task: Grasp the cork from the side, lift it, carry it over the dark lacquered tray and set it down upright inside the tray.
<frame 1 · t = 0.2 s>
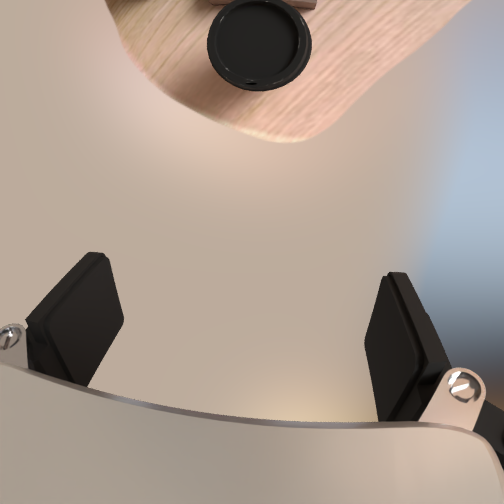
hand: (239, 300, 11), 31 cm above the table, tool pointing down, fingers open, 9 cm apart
coffee cup: (268, 57, 33), on the table
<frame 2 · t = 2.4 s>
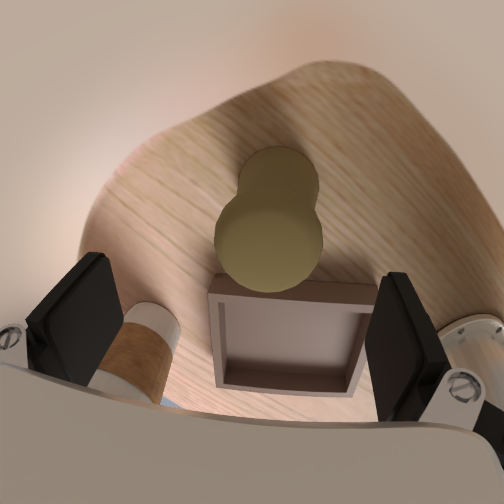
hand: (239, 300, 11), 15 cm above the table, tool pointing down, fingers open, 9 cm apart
coffee cup: (154, 323, 32), on the table
cork: (278, 185, 24), on the table
lacquer tray: (291, 332, 30), on the table
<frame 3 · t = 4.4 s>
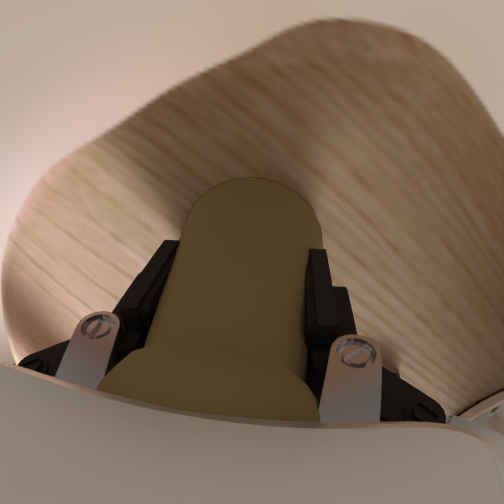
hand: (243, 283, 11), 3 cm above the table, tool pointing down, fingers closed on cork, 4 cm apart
cork: (252, 243, 14), on the table, touching gripper
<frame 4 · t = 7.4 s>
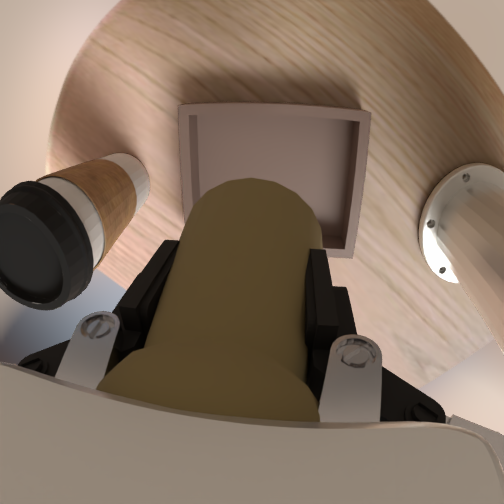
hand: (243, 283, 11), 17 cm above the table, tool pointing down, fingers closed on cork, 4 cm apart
coffee cup: (123, 182, 28), on the table
cork: (252, 244, 14), point 14 cm above the table, touching gripper
lacquer tray: (273, 173, 26), on the table
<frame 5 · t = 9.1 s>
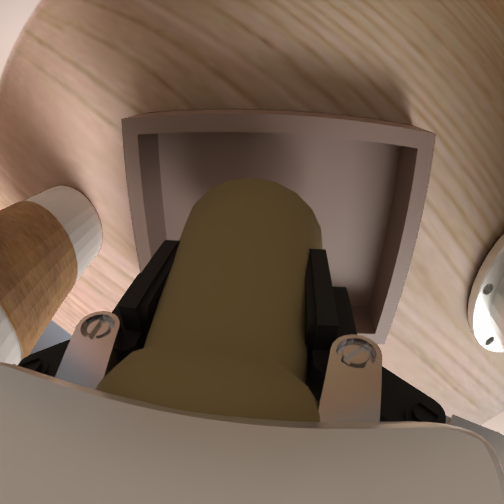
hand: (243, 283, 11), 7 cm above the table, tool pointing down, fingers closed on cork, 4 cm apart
coffee cup: (70, 224, 20), on the table
cork: (252, 244, 14), point 4 cm above the table, touching gripper
lacquer tray: (275, 220, 18), on the table
when the fingers open (5 cm above the table, at t = 10.4 s): cork drops 1 cm, resting on lacquer tray.
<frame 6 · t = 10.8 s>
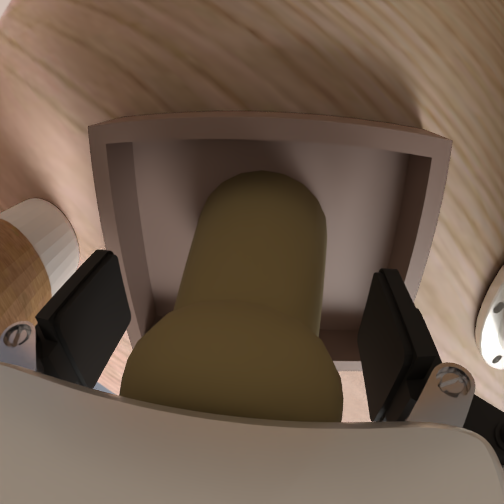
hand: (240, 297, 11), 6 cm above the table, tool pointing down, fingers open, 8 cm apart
coffee cup: (46, 239, 18), on the table
cork: (262, 231, 15), resting on lacquer tray
lacquer tray: (266, 237, 16), on the table
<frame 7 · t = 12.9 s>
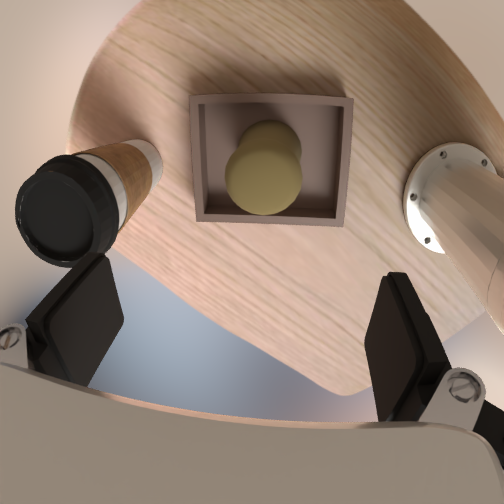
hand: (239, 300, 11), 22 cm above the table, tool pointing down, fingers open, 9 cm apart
coffee cup: (138, 165, 32), on the table
cork: (269, 150, 29), resting on lacquer tray
lacquer tray: (271, 154, 30), on the table
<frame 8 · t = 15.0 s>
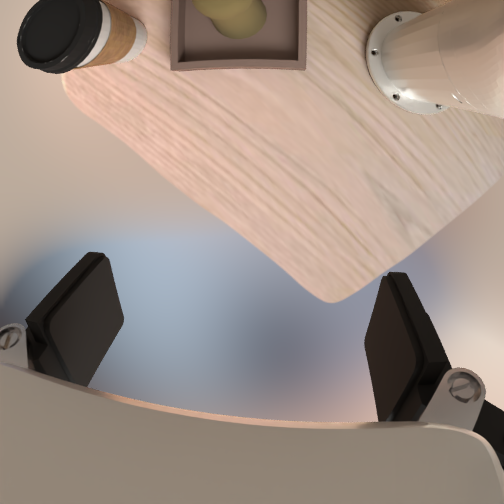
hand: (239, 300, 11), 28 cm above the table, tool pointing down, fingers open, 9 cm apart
coffee cup: (126, 40, 30), on the table
cork: (239, 15, 28), resting on lacquer tray
lacquer tray: (241, 19, 28), on the table
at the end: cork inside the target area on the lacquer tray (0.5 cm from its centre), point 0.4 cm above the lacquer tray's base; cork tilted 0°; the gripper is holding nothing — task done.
